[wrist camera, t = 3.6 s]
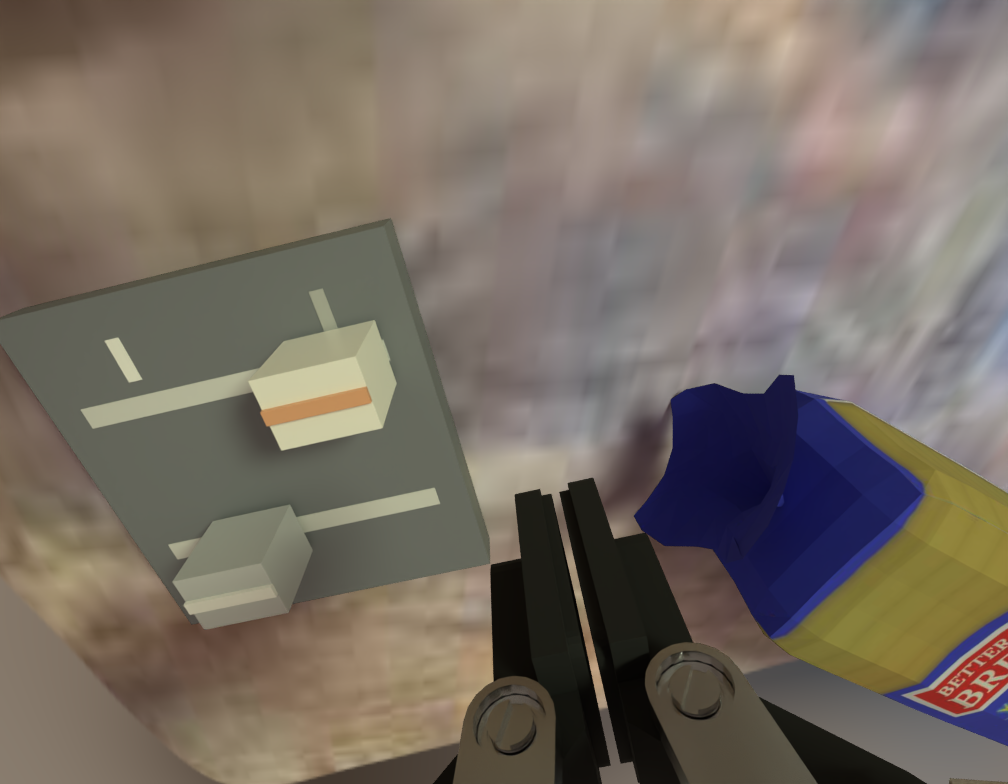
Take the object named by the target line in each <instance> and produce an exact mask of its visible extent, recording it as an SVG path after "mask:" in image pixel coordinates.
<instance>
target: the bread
mask: <svg viewBox="0 0 1008 784" xmlns="http://www.w3.org/2000/svg"><path fill="white" fill-rule="evenodd" d="M671 408H672V416H673V449H672V452H671V455H670V458H669V462H668V465H667V468H666V471H665V474H664V476H663V478H662V479H661V481H660V482H659V484H658V485H657V487H656V488H655V489H654V491H653V492H652V494H651V495H650V497H649V498H648V500H647V501H646V502H645V503H644V505H643V506H642V507H641V508H640V509H639V510H638V511H637V512H636V514H635V515H634V517H635V519H636V521H637V523H638V524H639V526H640V528H641V530H642V531H644V532H645V533H647V534H648V535H649V536H651V537H652V538H654V539H655V540H657V541H658V542H660V543H661V544H663V545H664V546H694V547H703V548H708V549H713V551H714V552H715V553H716V555H717V556H718V558H719V559H720V561H721V562H722V564H723V565H724V567H725V568H726V570H727V571H728V573H729V574H730V576H731V577H732V579H733V580H734V582H735V584H736V586H737V588H738V589H739V591H740V593H741V595H742V597H743V599H744V601H745V602H746V604H747V606H748V608H749V610H750V612H751V614H752V615H753V617H754V619H755V620H756V622H757V624H758V625H759V627H760V629H761V630H762V632H763V634H764V635H766V636H767V637H768V638H769V639H771V640H772V641H773V642H774V643H776V644H777V645H778V646H779V647H781V648H782V649H783V650H784V651H786V652H787V653H788V654H790V655H792V656H794V657H796V658H798V659H801V660H803V661H805V662H807V663H809V664H812V665H814V666H816V667H818V668H820V669H823V670H825V671H827V672H830V673H832V674H834V675H837V676H839V677H841V678H844V679H846V680H849V681H851V682H853V683H855V684H858V685H860V686H863V687H865V688H867V689H869V690H872V691H874V692H876V693H879V694H881V695H883V696H885V697H888V698H890V699H892V700H895V701H897V702H899V703H902V704H904V705H906V706H908V707H911V708H914V709H916V710H918V711H921V712H923V713H926V714H928V715H930V716H933V717H935V718H938V719H940V720H943V721H945V722H948V723H951V724H953V725H956V726H958V727H961V728H963V729H966V730H968V731H971V732H973V733H976V734H978V735H981V736H984V737H986V738H989V739H991V740H994V741H996V742H999V743H1001V744H1004V745H1006V746H1008V493H1007V492H1006V491H1004V490H1002V489H1001V488H999V487H997V486H996V485H994V484H993V483H991V482H989V481H988V480H986V479H984V478H983V477H981V476H980V475H978V474H976V473H974V472H973V471H971V470H969V469H968V468H966V467H964V466H963V465H961V464H959V463H957V462H956V461H954V460H952V459H950V458H949V457H947V456H945V455H943V454H942V453H940V452H938V451H936V450H935V449H933V448H931V447H929V446H928V445H926V444H924V443H922V442H921V441H919V440H917V439H915V438H913V437H912V436H910V435H908V434H906V433H905V432H903V431H901V430H899V429H898V428H896V427H894V426H892V425H891V424H889V423H887V422H885V421H884V420H882V419H880V418H878V417H877V416H875V415H873V414H871V413H870V412H868V411H866V410H864V409H863V408H861V407H859V406H857V405H855V404H854V403H852V402H850V401H845V400H840V399H835V398H830V397H825V396H820V395H816V394H811V393H806V392H802V391H797V390H795V382H794V375H779V376H778V377H777V378H776V379H775V381H774V382H773V383H772V384H771V386H770V387H769V388H768V389H767V390H766V392H765V393H764V394H743V393H740V392H738V391H735V390H732V389H729V388H726V387H724V386H721V385H718V384H715V383H713V384H709V385H704V386H700V387H695V388H691V389H686V390H684V391H683V392H681V393H680V394H678V395H677V396H675V397H674V398H672V399H671Z"/></svg>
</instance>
